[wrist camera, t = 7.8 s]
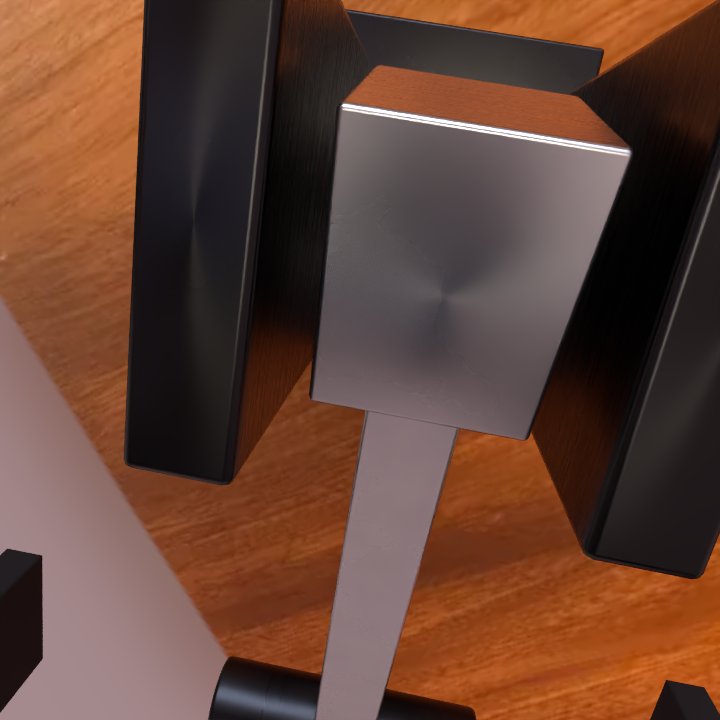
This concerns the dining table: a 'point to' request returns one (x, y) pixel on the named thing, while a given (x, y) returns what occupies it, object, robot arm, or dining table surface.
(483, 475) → the dining table surface
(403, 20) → the switch bracket
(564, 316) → the switch lever
